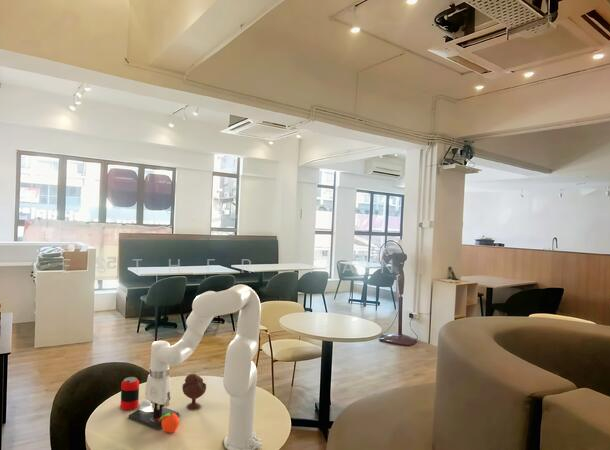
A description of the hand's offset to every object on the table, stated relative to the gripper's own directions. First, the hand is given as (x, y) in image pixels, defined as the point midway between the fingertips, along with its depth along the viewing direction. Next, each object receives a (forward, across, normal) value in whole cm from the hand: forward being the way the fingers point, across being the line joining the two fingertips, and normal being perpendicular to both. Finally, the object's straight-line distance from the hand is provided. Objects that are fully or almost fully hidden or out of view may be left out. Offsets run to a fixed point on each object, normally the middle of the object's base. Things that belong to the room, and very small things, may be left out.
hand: (157, 417), depth 149 cm
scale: (+3, -5, +4) cm, 7 cm away
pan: (0, -8, +5) cm, 9 cm away
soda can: (+4, -20, +5) cm, 21 cm away
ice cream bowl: (+3, +4, +20) cm, 21 cm away
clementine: (+3, +7, -1) cm, 8 cm away
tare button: (+2, 0, 0) cm, 2 cm away
